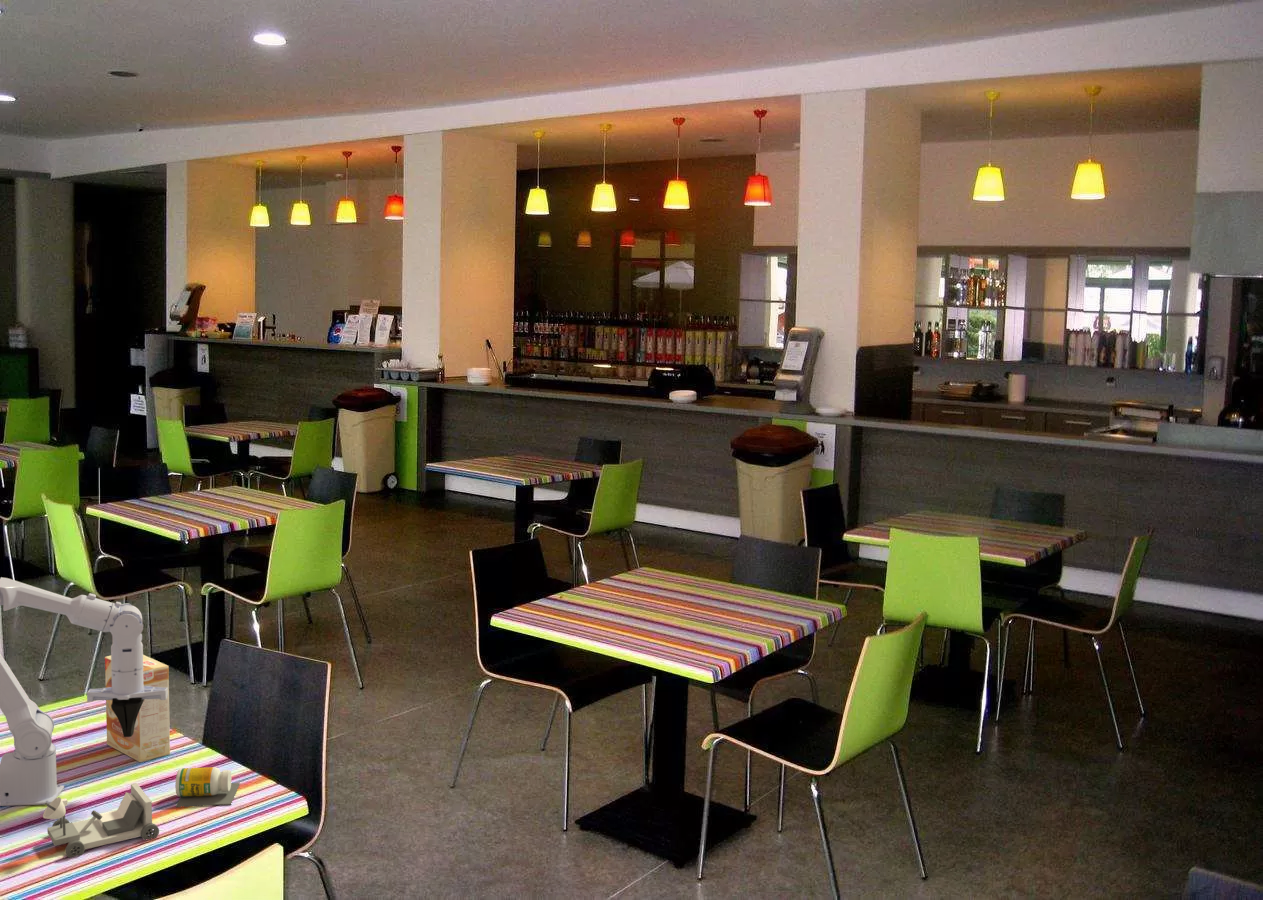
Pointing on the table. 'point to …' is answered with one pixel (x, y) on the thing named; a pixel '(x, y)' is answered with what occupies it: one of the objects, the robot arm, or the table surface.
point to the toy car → (102, 823)
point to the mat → (210, 798)
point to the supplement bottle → (202, 781)
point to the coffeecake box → (142, 717)
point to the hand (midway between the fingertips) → (128, 735)
